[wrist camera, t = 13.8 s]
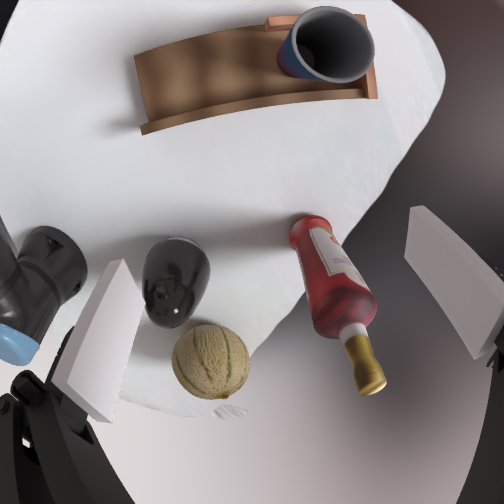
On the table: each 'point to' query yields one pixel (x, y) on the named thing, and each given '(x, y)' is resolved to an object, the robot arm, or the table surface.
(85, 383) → the robot arm
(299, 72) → the cup
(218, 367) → the cantaloupe
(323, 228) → the liquor
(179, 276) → the black egg-shaped device
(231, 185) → the table surface
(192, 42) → the board
